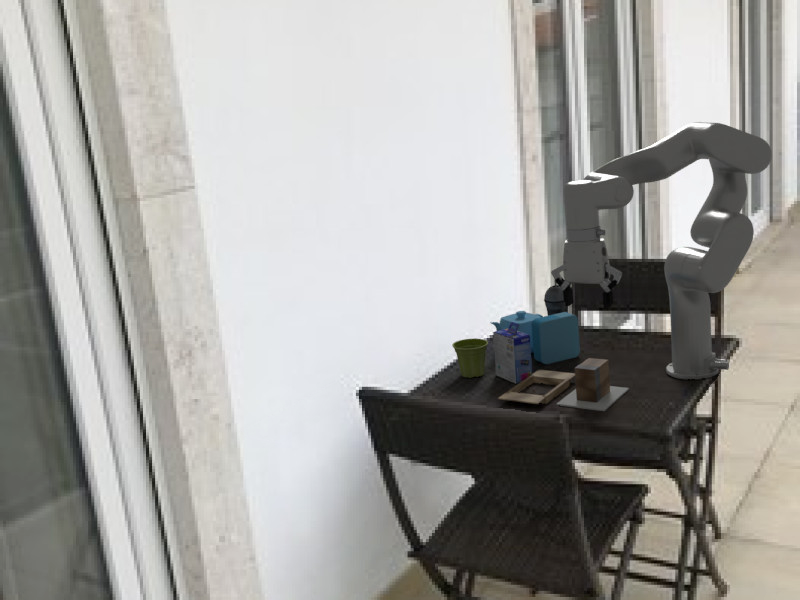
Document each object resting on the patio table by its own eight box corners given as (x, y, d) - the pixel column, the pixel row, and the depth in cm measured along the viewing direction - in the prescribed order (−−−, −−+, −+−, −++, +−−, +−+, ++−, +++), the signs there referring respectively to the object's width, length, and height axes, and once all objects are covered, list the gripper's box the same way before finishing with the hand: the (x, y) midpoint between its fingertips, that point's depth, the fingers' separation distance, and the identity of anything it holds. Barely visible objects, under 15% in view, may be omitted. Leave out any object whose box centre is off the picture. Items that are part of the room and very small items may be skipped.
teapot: (481, 354, 273) (477, 315, 271) (532, 340, 282) (529, 302, 279) (506, 364, 263) (503, 323, 260) (559, 348, 271) (556, 309, 268)
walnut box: (610, 391, 233) (608, 359, 231) (596, 402, 227) (594, 369, 225) (590, 389, 236) (588, 357, 234) (576, 400, 230) (574, 367, 228)
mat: (629, 389, 234) (628, 388, 234) (604, 411, 222) (604, 409, 222) (583, 384, 241) (583, 382, 241) (556, 405, 229) (556, 403, 229)
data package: (571, 352, 267) (569, 310, 264) (580, 356, 262) (578, 314, 260) (533, 361, 262) (530, 319, 260) (542, 365, 258) (539, 322, 255)
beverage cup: (546, 341, 278) (541, 274, 273) (546, 334, 285) (542, 268, 280) (572, 340, 277) (567, 272, 272) (571, 333, 284) (567, 266, 279)
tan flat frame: (577, 380, 244) (576, 373, 244) (538, 410, 227) (537, 403, 227) (539, 376, 250) (538, 369, 250) (498, 404, 233) (498, 397, 233)
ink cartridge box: (534, 379, 248) (530, 325, 245) (516, 385, 246) (512, 330, 242) (512, 370, 257) (508, 318, 253) (495, 375, 255) (490, 323, 251)
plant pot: (467, 367, 264) (464, 336, 262) (497, 370, 258) (494, 339, 256) (448, 378, 257) (445, 347, 255) (479, 382, 251) (476, 350, 249)
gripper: (625, 231, 220) (629, 303, 224) (556, 230, 230) (561, 300, 234) (612, 238, 214) (617, 312, 218) (542, 237, 224) (547, 308, 228)
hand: (588, 306), depth 226 cm, fingers open, 9 cm apart
